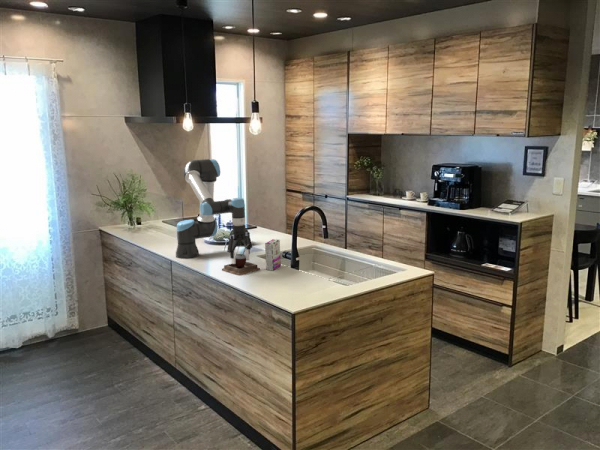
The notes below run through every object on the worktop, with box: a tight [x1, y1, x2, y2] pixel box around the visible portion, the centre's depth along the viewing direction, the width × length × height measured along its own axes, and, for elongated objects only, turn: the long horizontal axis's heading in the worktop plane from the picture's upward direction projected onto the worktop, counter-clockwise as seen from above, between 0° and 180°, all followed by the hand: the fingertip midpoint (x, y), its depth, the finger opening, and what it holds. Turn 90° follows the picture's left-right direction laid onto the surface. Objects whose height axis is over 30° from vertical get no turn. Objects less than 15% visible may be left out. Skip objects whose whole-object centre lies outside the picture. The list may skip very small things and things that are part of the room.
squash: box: [229, 228, 249, 246], centre depth 373 cm, size 14×15×15 cm
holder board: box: [221, 261, 261, 276], centre depth 306 cm, size 16×16×3 cm
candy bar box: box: [264, 238, 282, 271], centre depth 308 cm, size 11×5×16 cm, turn 158°
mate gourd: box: [235, 244, 249, 269], centre depth 305 cm, size 8×8×15 cm
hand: (240, 261), depth 306 cm, fingers open, 9 cm apart
